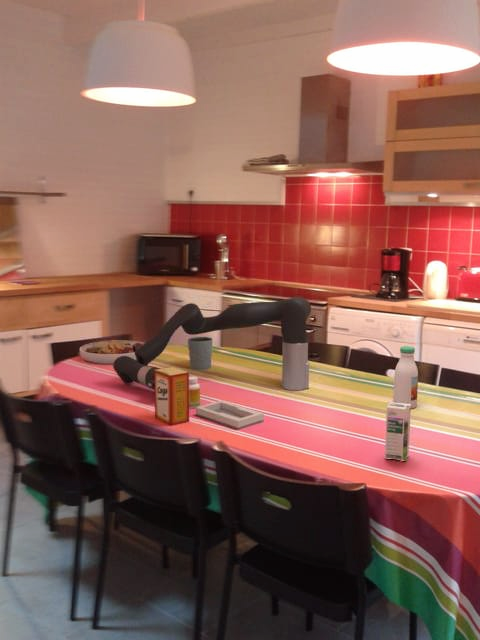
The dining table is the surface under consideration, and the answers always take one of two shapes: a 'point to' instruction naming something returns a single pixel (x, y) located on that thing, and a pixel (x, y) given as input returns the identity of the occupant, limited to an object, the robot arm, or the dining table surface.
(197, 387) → the supplement bottle
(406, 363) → the milk bottle
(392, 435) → the syrup box
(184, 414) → the baking soda box
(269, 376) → the dining table surface
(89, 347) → the bowl
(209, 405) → the gray rectangular tray
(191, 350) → the blue-grey cup
